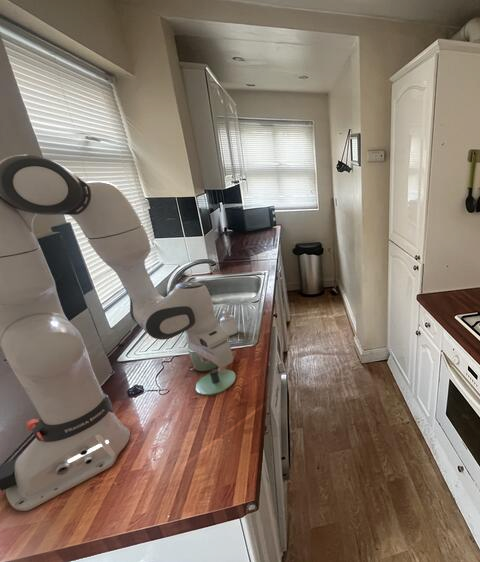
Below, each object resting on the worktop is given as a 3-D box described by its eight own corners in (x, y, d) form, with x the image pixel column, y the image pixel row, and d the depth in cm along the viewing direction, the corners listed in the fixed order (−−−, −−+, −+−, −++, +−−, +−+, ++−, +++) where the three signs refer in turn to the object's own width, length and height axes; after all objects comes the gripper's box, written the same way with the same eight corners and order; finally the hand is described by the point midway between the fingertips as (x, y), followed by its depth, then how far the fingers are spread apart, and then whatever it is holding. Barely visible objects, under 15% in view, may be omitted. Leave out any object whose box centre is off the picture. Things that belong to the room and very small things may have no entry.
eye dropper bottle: (235, 336, 129) (230, 310, 124) (222, 337, 128) (215, 311, 124) (238, 330, 133) (233, 305, 128) (225, 331, 132) (219, 306, 128)
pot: (203, 375, 105) (197, 355, 102) (188, 365, 111) (181, 346, 108) (231, 360, 113) (226, 340, 110) (215, 351, 119) (210, 332, 115)
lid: (209, 402, 94) (205, 389, 92) (188, 387, 100) (184, 375, 98) (243, 380, 103) (240, 367, 101) (223, 367, 109) (220, 356, 107)
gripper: (176, 326, 97) (187, 362, 102) (211, 346, 86) (222, 384, 92) (195, 318, 102) (206, 352, 107) (231, 335, 91) (241, 372, 97)
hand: (214, 367), depth 99 cm, fingers open, 8 cm apart
